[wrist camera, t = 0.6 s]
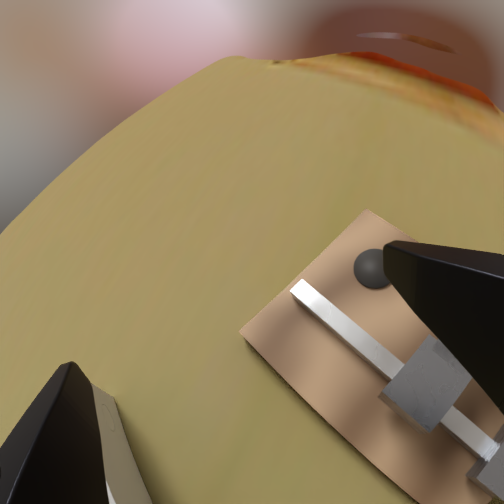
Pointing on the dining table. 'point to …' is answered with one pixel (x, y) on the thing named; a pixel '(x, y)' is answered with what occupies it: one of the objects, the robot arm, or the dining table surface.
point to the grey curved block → (118, 455)
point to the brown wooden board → (362, 374)
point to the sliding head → (426, 386)
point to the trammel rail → (387, 365)
